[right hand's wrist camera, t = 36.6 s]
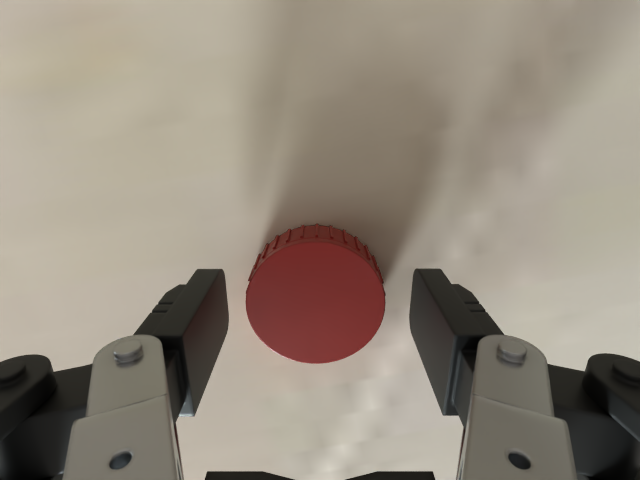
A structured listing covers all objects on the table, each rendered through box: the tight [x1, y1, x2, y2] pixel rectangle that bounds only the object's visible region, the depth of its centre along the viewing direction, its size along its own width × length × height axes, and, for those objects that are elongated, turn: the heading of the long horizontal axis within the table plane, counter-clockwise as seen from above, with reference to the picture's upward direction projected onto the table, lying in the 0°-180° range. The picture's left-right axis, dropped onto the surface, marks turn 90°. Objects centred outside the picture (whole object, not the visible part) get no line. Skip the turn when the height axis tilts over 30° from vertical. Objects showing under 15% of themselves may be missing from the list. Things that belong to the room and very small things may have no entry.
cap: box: [246, 224, 385, 363], centre depth 12 cm, size 4×4×2 cm
